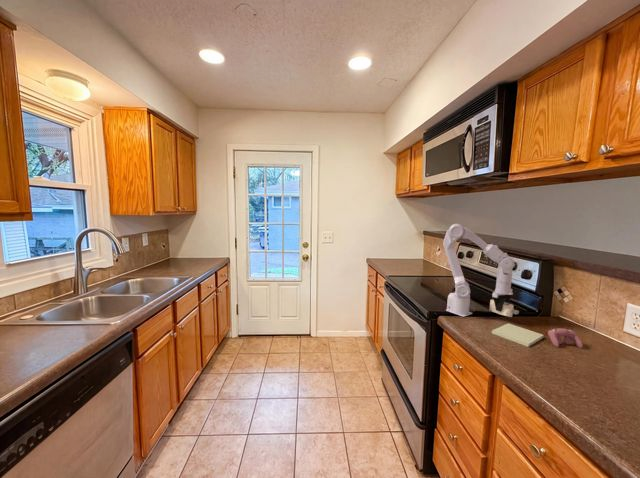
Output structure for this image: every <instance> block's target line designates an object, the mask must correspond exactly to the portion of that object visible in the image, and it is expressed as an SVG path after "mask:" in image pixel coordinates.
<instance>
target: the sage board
mask: <svg viewBox="0 0 640 478" xmlns="http://www.w3.org/2000/svg"><path fill="white" fill-rule="evenodd" d="M491 334H493V335H494V336H495V335H496V336H498V337H501V338H503V339H506V340H508V341H510V342H514V343H517V344H519V345H522V346H525V347H527V348H529V347H531V346H532V345H534V344H536V343H537V342H539V341H540V340H543V339H544V338H545V337H544V334H542V333H539V332H535V331H533V330H530V329H527V328H524V327H521V326H518V325H514V324H512V323H509V322H508V323H505V324H503V325H500V326H498V327H497V328H494V329H492V330H491Z"/></svg>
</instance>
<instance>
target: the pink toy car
mask: <svg viewBox="0 0 640 478" xmlns="http://www.w3.org/2000/svg"><path fill="white" fill-rule="evenodd" d="M547 335H548V337H549V339H550V341H551V342H552V344H553V346H554V347H556V348H558V347H559V346H560V344H563V342H564V344H566V345H571V344H572V342H573V343H574V344H575V345H576V346H577V347H578V348H579V349H583V348H584V344H583V342H582V340H581V339H580V337H579V336H578V334H577V333H576V332H575V331H574V330H571V329H568V328H561V327H560V328H558V327H557V328H552V329H549V330H548V331H547Z"/></svg>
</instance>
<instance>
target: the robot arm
mask: <svg viewBox="0 0 640 478" xmlns="http://www.w3.org/2000/svg"><path fill="white" fill-rule="evenodd" d="M460 238H462V239H467V240H470V241H471V242H472V243H474V244H475V245H477V246H478V247H479V248H481V249H482V252H483V254H484V255H485V256H487V258H489V259H490V260H491V261H493V262H494V263H497V265H498V266H497V270H496V271H497V272H496V280H495V289H494V291H493V292H492V294H491V298H492V299H493V300H494V303H495V308H496V310H497V311H500V312H501V311H502V308H503V304H504V302H505V303H509V304H510V301H511V299H512V298H513V295H514V293H513V288H511V286H512V278H513V268H515V266H516V264H515V261H514V259H513V258H512V257H510V256H509V255H508V253H507V252H504V251H503V250H501V249H500V248H499V246H498V245H497V244H495V245H494V244H493V243H491V244H488V243H487V242H486V241H484V239H482V238H481V237H480V236H478V235H477V234H475V233H474V232H473V231H472V230H470V229H469V228H467V227H465V226H464V227H463V225H462V224H460V223H453V224H451V225H450V226H449V227H448V228H447V230H446V232H445V236H444V239H443V242H442V245H443V249H444V251H445V255H446V258H447V261H448V264H449V267H450V270H451V273H452V276H453V280H454V288H455V291H454V292H451V293H449V294H448V296H447V302H446V303H447V304H446V309H445V311H446V312H449V313H452V314H455V315H458V316H459V317H464V318H465V317H467V316H470V315H473V312H472V311H470V303H471V295H470V294H471V288H470V284H469V282H468V281H466V278H465V276H464V273H463V270H462V267H461V263H460V261H459V258H458V255H457V251H456V248H455V243H456V242H457V240H459V239H460Z"/></svg>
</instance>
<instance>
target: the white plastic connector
mask: <svg viewBox="0 0 640 478" xmlns="http://www.w3.org/2000/svg"><path fill="white" fill-rule="evenodd" d="M489 300H490V301H489V309H488V310H489V311H490V312H493V313H496V314H498V315H501V316H505V317H509V318H512V317H513V314H514V315H519V313H520V310H517V309H514V304H511V303H510V302H509V303H505V302H504V304H503V308H502V311H501V312H500V311H497V310H496V308H495V303H494V300H493V298H492V299H491V298H490V299H489Z"/></svg>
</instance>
